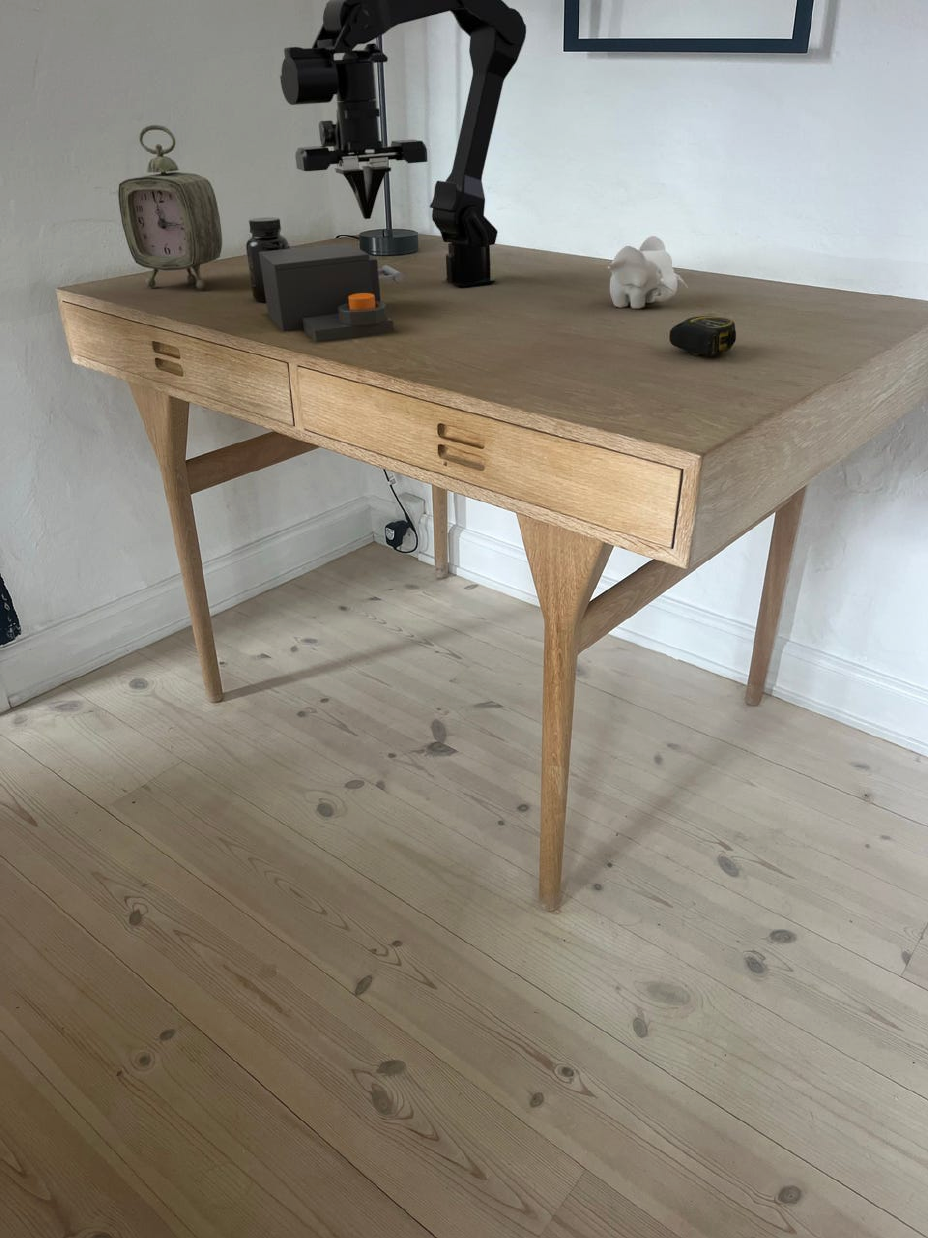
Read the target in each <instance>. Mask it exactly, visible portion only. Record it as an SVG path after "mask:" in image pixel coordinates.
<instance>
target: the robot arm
mask: <svg viewBox="0 0 928 1238" xmlns="http://www.w3.org/2000/svg"><path fill="white" fill-rule="evenodd" d="M447 12H450V13H451V14H452V15H453V17H454V18H455V20H456V22H457V24H458V26H459V27H460V29H461V30H462V31H463V32H465V34H467V35H468V37H469V46H468V47H469V48H468V52H469V58H470V63H471V67H472V68H471V69H472V76H471V80H470V84H469V85H470V86H469V90H468V95H467V99H466V104H465V108H464V114H463V119H462V122H461V127H460V132H459V136H458V137H459V138H458V141H457V146H456V150H455V151H456V152H455V155H454V160H453V165H452V169H451V172H450V174H449V175H448V177H447V178H446V180H445V181H442V180H436V182H435V184H434V192H433V198H432V201H431V203H430V205H429V208H431V209H432V212H431V218H432V221H433V223H434V225H435V228H436V229H437V230H438V231H439V233H440V235H441V239H442V241H443V242H444V243H447V247H448V249H447V251H448V253H446V254H445V269H446V270H445V271H446V278H445V281H446V282H448V283H450V284H452V285H454V286H456V287H457V288H463V287H472V286H480V285H487V284H489V285H490V284H494V283H495V278H492V275H491V246H493V245H495V244H496V241H497V238H498V233H499V232H498V229H497V228H496V227H495V226H494V225H493V224H492V222H491V221H489V219H487V217H486V216H485V208H486V197H485V190H484V186H483V174H484V170H485V165H486V161H487V157H488V152H489V147H490V143H491V139H492V135H493V129H494V126H495V121H496V117H497V112H498V108H499V104H500V99H501V95H502V91H503V86H504V83H505V79H506V77H507V76H508V75H509V73H510V72H511V70H512V69H513V67H514V66H515V65H516V63H517V62H518V60H519V57H520V54H521V52H522V49H523V46H524V43H525V40H526V37H527V25H526V24H525V21H524V17H523V16H522V14H521V13H520V12H519V11H518V10H517V9H516V8H512V7H510V6H508V5H507V4H506V2H504V1H503V0H328V1H327V2H326V4H325V7H324V9H323V15H322V24H321V27H320V30H319V31H318V34H317V35H316V37H315V40H314V42H313V44H312V45H311V47H310V48H308V47H307V48H303V47H300V46H291V47H288V46H287V47H284V48H283V51H284V59H283V61H282V64H281V75H280V77H279V78H280V86H281V90H282V94H283V96H284V99H285V101H286V102H287V103H288V104H289V105H291V106H298V105H312V104H313V105H314V104H329V103H330V102H332V100H333V99H334V96H335V95H336V107H337V109H336V122H335V123H334V122H333V120H331V119H330V120H320V121H319V123H318V132H319V139H320V144H321V145H316V146H303V147H298V148H297V149H296V151H295V154H294V156H295V164H296V165H295V166H296V169H297V170H300V171H303V172H317V171H318V172H319V171H327V170H328V169H329V168H330V166H331V165H335V166H336V167H335V168H334V171H335V173H337V174H340V175H343V176H344V178H345V180H346V181H347V183H348V185H349V186H350V188H351V190H352V192H353V195H354V197H355V200H356V203H357V204H358V207H359V210H360V213H361V215H362V218H363V219H365V220H370V219H371V218H372V215H373V211H374V208H375V204H376V200H377V196H378V193H379V190H380V187H381V185H382V182H383V179H384V178H385V175H386V173H389V172H392V167H391V166H389V165H388V164H389V161H392V160H395V161H396V162H397V161H404V162H406V163H407V164H417V163H426V162H428V149H427V145H426V144H425V143H424V141H423V140H418V139H401V140H391V142H390V146H383V141H382V140H381V137H380V136H381V135H380V124H379V123H380V122H379V118H380V117H381V114H380V113H381V111H380V108H378V98H377V86H376V84H377V83H376V73H375V71H376V70H375V64H377V63H387V62H388V60H389V58H388V56H387V55H386V53H384V52H383V51H381V50H380V49H379V47H378V45H377V43H374V42H372V41H374V40H376V39H377V38H379V37H382V36H383V35H385V34H386V33H387V32H389V31H390V30H391V29H393V28H395V27H397V26H399V25H402V24H405V23H408V22H409V23H410V22H413V21H416V20H420V19H424V18H428V17H432V16H435V15H440V14H443V13H447ZM370 42H371V43H370ZM364 44H366V45H365V47H364V48H363V49H355V48H356V47H357V46H358V45H364ZM335 54H336V55H337V54H338V55H339V54H343V56H342V59H335ZM331 147H332V148H333V150H330V149H329V148H331ZM366 151H367V152H366ZM359 163H365V165H362V167H361V168H362V169H361V168H360V164H359Z"/></svg>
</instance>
